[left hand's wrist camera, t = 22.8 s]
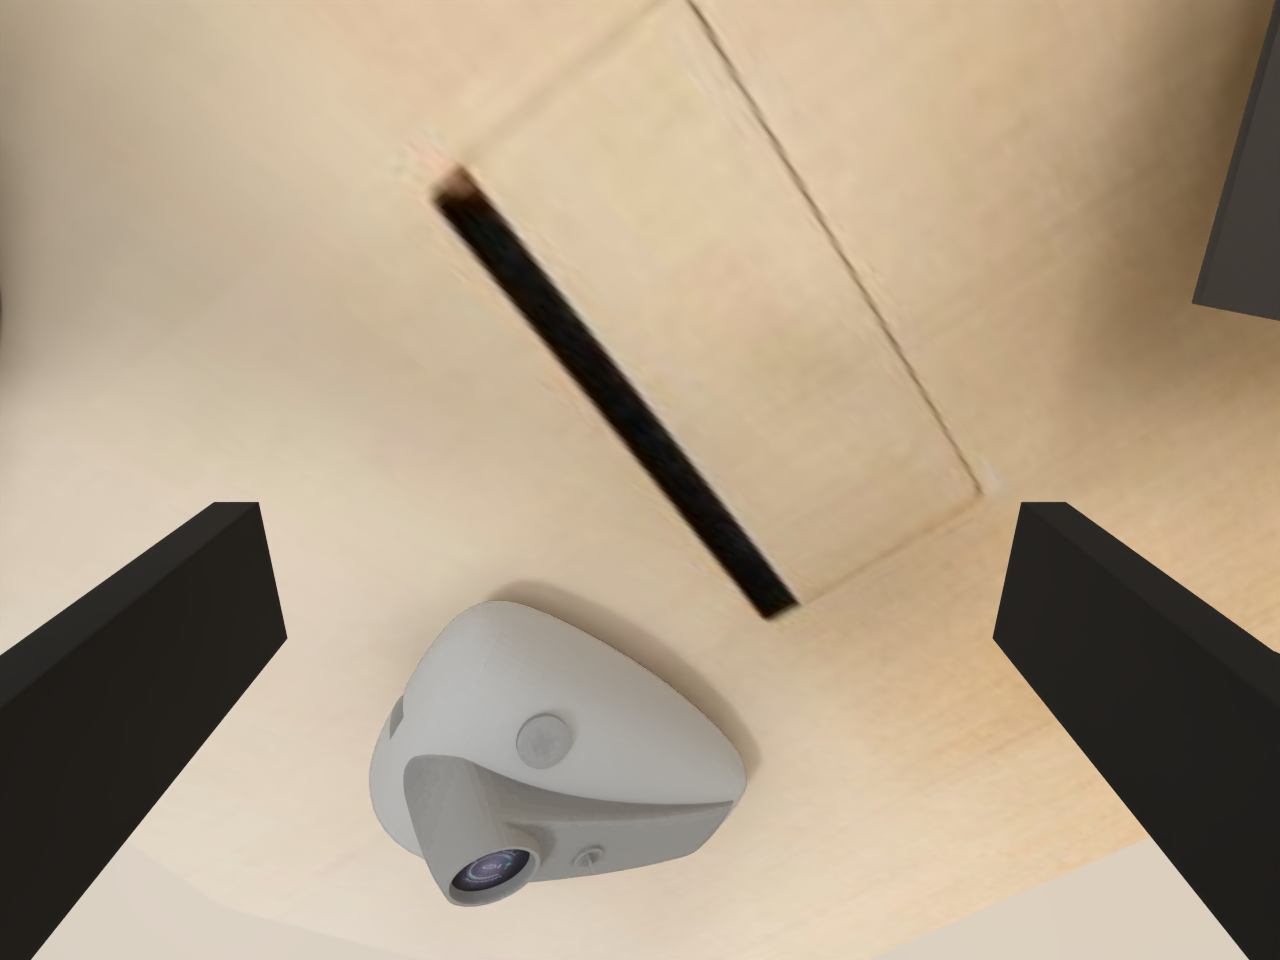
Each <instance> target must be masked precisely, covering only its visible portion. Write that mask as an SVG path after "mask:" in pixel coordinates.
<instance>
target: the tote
mask: <svg viewBox="0 0 1280 960" xmlns="http://www.w3.org/2000/svg"><path fill="white" fill-rule="evenodd" d="M1192 303H1193V304H1197V305H1202V306H1207V307H1212V308H1217V309H1222V310H1227V311H1232V312H1238V313H1243V314H1248V315H1253V316H1258V317H1263V318H1268V319H1273V320H1278V321H1280V0H1275V3H1274V7H1273V11H1272V14H1271V18H1270V22H1269V25H1268V29H1267V32H1266V36H1265V40H1264V43H1263V47H1262V50H1261V54H1260V58H1259V61H1258V65H1257V69H1256V72H1255V76H1254V79H1253V83H1252V87H1251V90H1250V94H1249V97H1248V101H1247V105H1246V108H1245V112H1244V115H1243V119H1242V123H1241V126H1240V130H1239V134H1238V137H1237V141H1236V144H1235V148H1234V152H1233V155H1232V159H1231V162H1230V166H1229V170H1228V173H1227V177H1226V180H1225V184H1224V188H1223V191H1222V195H1221V199H1220V202H1219V206H1218V209H1217V213H1216V217H1215V220H1214V224H1213V227H1212V231H1211V235H1210V238H1209V242H1208V245H1207V249H1206V253H1205V256H1204V260H1203V264H1202V267H1201V271H1200V274H1199V278H1198V282H1197V285H1196V289H1195V292H1194V296H1193V300H1192Z"/></svg>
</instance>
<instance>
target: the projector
mask: <svg viewBox="0 0 1280 960" xmlns="http://www.w3.org/2000/svg"><path fill="white" fill-rule="evenodd" d="M746 783H747V779H746V772H745V767H744V764H743V761H742V759H741V756H740V754H739V752H738V751H737V749H736V748H735V747H734V746H733V744H732V743H731V742H730V741H729V739H728V738H727V737H726V736H725V735H724V734H723V733H722V732H721V731H720V730H719V729H718V728H717V727H716V726H715V725H714V724H713V723H712V722H711V721H710V720H709V719H708V718H707V717H706V716H705V715H704V714H703V713H702V712H701V711H700V710H698V709H697V708H696V707H695V706H694V705H693V704H691V703H690V702H689V701H688V700H687V699H686V698H684V697H683V696H682V695H681V694H679V693H678V692H677V691H676V690H674V689H673V688H672V687H671V686H669V685H668V684H667V683H665V682H664V681H663V680H661V679H660V678H658V677H657V676H656V675H654V674H653V673H652V672H650V671H649V670H647V669H646V668H644V667H643V666H641V665H640V664H638V663H637V662H635V661H634V660H632V659H630V658H629V657H627V656H626V655H624V654H622V653H621V652H619V651H617V650H616V649H614V648H612V647H611V646H609V645H607V644H606V643H604V642H602V641H600V640H598V639H597V638H595V637H593V636H591V635H589V634H588V633H586V632H584V631H582V630H580V629H578V628H576V627H574V626H572V625H570V624H568V623H566V622H564V621H562V620H560V619H558V618H556V617H553V616H551V615H549V614H547V613H544V612H542V611H539V610H537V609H534V608H532V607H529V606H525V605H522V604H519V603H515V602H510V601H500V600H496V601H487V602H483V603H480V604H477V605H475V606H473V607H470V608H469V609H467V610H465V611H464V612H462V613H461V614H459V615H458V616H457V617H456V618H455V619H454V620H453V621H452V622H451V623H450V624H449V625H448V626H447V627H446V628H445V629H444V630H443V631H442V633H441V634H440V635H439V636H438V637H437V638H436V640H435V641H434V642H433V644H432V645H431V647H430V648H429V649H428V651H427V652H426V654H425V655H424V657H423V658H422V660H421V661H420V663H419V664H418V666H417V668H416V669H415V671H414V673H413V674H412V676H411V678H410V679H409V681H408V683H407V686H406V688H405V692H404V695H402V696H401V697H400V698H399V700H398V701H397V702H396V704H395V706H394V708H393V709H392V711H391V713H390V715H389V717H388V719H387V721H386V723H385V725H384V727H383V729H382V731H381V733H380V736H379V738H378V741H377V743H376V746H375V749H374V752H373V756H372V760H371V765H370V771H369V787H370V795H371V800H372V805H373V808H374V811H375V814H376V816H377V819H378V820H379V822H380V824H381V825H382V827H383V828H384V830H385V831H386V832H387V833H388V834H389V835H390V836H391V838H392V839H393V840H394V841H395V842H397V843H398V844H399V845H401V846H402V847H404V848H405V849H406V850H408V851H409V852H411V853H413V854H415V855H417V856H419V857H421V858H423V859H425V861H426V863H427V865H428V867H429V869H430V871H431V874H432V876H433V878H434V880H435V881H436V883H437V885H438V886H439V888H440V889H441V891H442V892H443V894H444V895H445V897H446V899H447V900H448V901H449V902H450V903H452V904H454V905H458V906H464V907H472V906H480V905H486V904H489V903H493V902H496V901H499V900H501V899H503V898H505V897H507V896H510V895H511V894H513V893H515V892H516V891H518V890H520V889H521V888H522V887H524V886H525V885H526V884H527V883H528V882H538V881H548V880H558V879H566V878H574V877H582V876H590V875H597V874H603V873H609V872H615V871H621V870H626V869H632V868H637V867H642V866H647V865H651V864H656V863H660V862H664V861H668V860H672V859H676V858H680V857H683V856H687V855H689V854H691V853H694V852H695V851H696V850H697V849H699V848H700V847H701V846H702V845H703V844H704V843H705V842H706V841H707V840H708V839H709V838H710V837H711V836H712V835H713V834H714V833H715V831H716V830H717V829H718V828H719V826H720V825H721V824H722V823H723V822H724V820H725V819H726V818H727V817H728V816H729V814H730V813H731V812H732V810H733V809H734V808H735V807H736V805H737V804H738V802H739V801H740V799H741V797H742V795H743V793H744V791H745V788H746Z"/></svg>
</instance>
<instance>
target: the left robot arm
mask: <svg viewBox="0 0 1280 960" xmlns="http://www.w3.org/2000/svg"><path fill="white" fill-rule="evenodd" d="M286 639H287V634H286V629H285V625H284V620H283V615H282V610H281V606H280V601H279V596H278V591H277V587H276V582H275V577H274V573H273V568H272V563H271V558H270V554H269V549H268V544H267V539H266V535H265V530H264V525H263V521H262V516H261V511H260V506H259V502H214V503H212V504H211V505H209V506H208V507H207V508H205V509H204V510H202V511H201V512H200V513H198V514H197V515H195V516H194V517H193V518H191V519H190V520H189V521H187V522H186V523H184V524H183V525H182V526H180V527H179V528H177V529H176V530H175V531H173V532H172V533H170V534H169V535H168V536H166V537H165V538H163V539H162V540H161V541H159V542H158V543H156V544H155V545H154V546H152V547H151V548H149V549H148V550H147V551H145V552H144V553H143V554H141V555H140V556H138V557H137V558H136V559H134V560H133V561H131V562H130V563H129V564H127V565H126V566H124V567H123V568H122V569H120V570H119V571H117V572H116V573H115V574H113V575H112V576H110V577H109V578H108V579H106V580H105V581H103V582H102V583H101V584H99V585H98V586H97V587H95V588H94V589H92V590H91V591H90V592H88V593H87V594H85V595H84V596H83V597H81V598H80V599H78V600H77V601H76V602H74V603H73V604H71V605H70V606H69V607H67V608H66V609H64V610H63V611H62V612H60V613H59V614H57V615H56V616H55V617H53V618H52V619H51V620H49V621H48V622H46V623H45V624H44V625H42V626H41V627H39V628H38V629H37V630H35V631H34V632H32V633H31V634H30V635H28V636H27V637H25V638H24V639H23V640H21V641H20V642H18V643H17V644H16V645H14V646H13V647H11V648H10V649H9V650H7V651H6V652H5V653H3V654H2V655H0V960H31V959H32V958H33V956H34V955H35V954H36V953H37V951H38V950H39V949H40V948H41V946H42V945H43V944H44V943H45V941H46V940H47V939H48V938H49V936H50V935H51V934H52V933H53V931H54V930H55V929H56V928H57V926H58V925H59V924H60V922H61V921H62V920H63V919H64V918H65V916H66V915H67V914H68V912H69V911H70V910H71V909H72V907H73V906H74V905H75V904H76V902H77V901H78V900H79V899H80V897H81V896H82V895H83V894H84V892H85V891H86V890H87V889H88V887H89V886H90V885H91V884H92V882H93V881H94V880H95V879H96V877H97V876H98V875H99V874H100V872H101V871H102V870H103V869H104V867H105V866H106V865H107V864H108V862H109V861H110V860H111V859H112V857H113V856H114V855H115V854H116V852H117V851H118V850H119V849H120V847H121V846H122V845H123V844H124V842H125V841H126V840H127V839H128V837H129V836H130V835H131V834H132V832H133V831H134V830H135V829H136V827H137V826H138V825H139V824H140V822H141V821H142V820H143V819H144V817H145V816H146V815H147V814H148V812H149V811H150V810H151V809H152V807H153V806H154V805H155V804H156V802H157V801H158V800H159V799H160V797H161V796H162V795H163V794H164V792H165V791H166V790H167V789H168V787H169V786H170V785H171V783H172V782H173V781H174V780H175V778H176V777H177V776H178V775H179V773H180V772H181V771H182V770H183V768H184V767H185V766H186V765H187V763H188V762H189V761H190V760H191V758H192V757H193V756H194V755H195V753H196V752H197V751H198V750H199V748H200V747H201V746H202V745H203V743H204V742H205V741H206V740H207V738H208V737H209V736H210V735H211V733H212V732H213V731H214V730H215V728H216V727H217V726H218V725H219V723H220V722H221V721H222V720H223V718H224V717H225V716H226V715H227V713H228V712H229V711H230V710H231V708H232V707H233V706H234V705H235V703H236V702H237V701H238V700H239V698H240V697H241V696H242V695H243V693H244V692H245V691H246V690H247V688H248V687H249V686H250V685H251V683H252V682H253V681H254V680H255V678H256V677H257V676H258V675H259V673H260V672H261V671H262V670H263V668H264V667H265V666H266V664H267V663H268V662H269V661H270V659H271V658H272V657H273V656H274V654H275V653H276V652H277V651H278V649H279V648H280V647H281V646H282V644H283V643H284V642H285V641H286ZM993 639H994V641H995V642H996V643H997V644H998V646H999V647H1000V648H1001V649H1002V651H1003V652H1004V653H1005V654H1006V656H1007V657H1008V658H1009V659H1010V661H1011V662H1012V663H1013V664H1014V666H1015V667H1016V668H1017V670H1018V671H1019V672H1020V673H1021V675H1022V676H1023V677H1024V678H1025V680H1026V681H1027V682H1028V683H1029V685H1030V686H1031V687H1032V688H1033V690H1034V691H1035V692H1036V693H1037V695H1038V696H1039V697H1040V698H1041V700H1042V701H1043V702H1044V703H1045V705H1046V706H1047V707H1048V708H1049V710H1050V711H1051V712H1052V713H1053V715H1054V716H1055V717H1056V718H1057V720H1058V721H1059V722H1060V723H1061V725H1062V726H1063V727H1064V728H1065V730H1066V731H1067V732H1068V733H1069V735H1070V736H1071V737H1072V738H1073V740H1074V741H1075V742H1076V743H1077V745H1078V746H1079V747H1080V748H1081V750H1082V751H1083V752H1084V753H1085V755H1086V756H1087V757H1088V758H1089V760H1090V761H1091V762H1092V763H1093V765H1094V766H1095V767H1096V768H1097V770H1098V771H1099V772H1100V773H1101V775H1102V776H1103V777H1104V778H1105V780H1106V781H1107V782H1108V783H1109V785H1110V786H1111V787H1112V789H1113V790H1114V791H1115V792H1116V794H1117V795H1118V796H1119V797H1120V799H1121V800H1122V801H1123V802H1124V804H1125V805H1126V806H1127V807H1128V809H1129V810H1130V811H1131V812H1132V814H1133V815H1134V816H1135V817H1136V819H1137V820H1138V821H1139V822H1140V824H1141V825H1142V826H1143V827H1144V829H1145V830H1146V831H1147V832H1148V834H1149V835H1150V836H1151V837H1152V839H1153V840H1154V841H1155V842H1156V844H1157V845H1158V846H1159V847H1160V849H1161V850H1162V851H1163V852H1164V854H1165V855H1166V856H1167V857H1168V859H1169V860H1170V861H1171V862H1172V864H1173V865H1174V866H1175V867H1176V869H1177V870H1178V871H1179V872H1180V874H1181V875H1182V876H1183V877H1184V879H1185V880H1186V881H1187V882H1188V884H1189V885H1190V886H1191V887H1192V889H1193V890H1194V891H1195V892H1196V894H1197V895H1198V896H1199V897H1200V899H1201V900H1202V901H1203V903H1204V904H1205V905H1206V906H1207V908H1208V909H1209V910H1210V911H1211V913H1212V914H1213V915H1214V916H1215V918H1216V919H1217V920H1218V921H1219V923H1220V924H1221V925H1222V926H1223V928H1224V929H1225V930H1226V931H1227V932H1228V934H1229V935H1230V936H1231V938H1232V939H1233V940H1234V941H1235V942H1236V944H1237V945H1238V946H1239V948H1240V949H1241V950H1242V951H1243V953H1244V954H1245V955H1246V956H1247V958H1248V959H1249V960H1280V654H1279V653H1277V652H1274V651H1273V650H1271V649H1270V648H1269V647H1267V646H1266V645H1264V644H1263V643H1262V642H1260V641H1259V640H1257V639H1256V638H1255V637H1253V636H1252V635H1250V634H1249V633H1248V632H1246V631H1245V630H1243V629H1242V628H1241V627H1239V626H1238V625H1236V624H1235V623H1234V622H1232V621H1231V620H1229V619H1228V618H1227V617H1225V616H1224V615H1223V614H1221V613H1220V612H1218V611H1217V610H1216V609H1214V608H1213V607H1211V606H1210V605H1209V604H1207V603H1206V602H1204V601H1203V600H1202V599H1200V598H1199V597H1197V596H1196V595H1195V594H1193V593H1192V592H1190V591H1189V590H1188V589H1186V588H1185V587H1183V586H1182V585H1181V584H1179V583H1178V582H1177V581H1175V580H1174V579H1172V578H1171V577H1170V576H1168V575H1167V574H1165V573H1164V572H1163V571H1161V570H1160V569H1158V568H1157V567H1156V566H1154V565H1153V564H1151V563H1150V562H1149V561H1147V560H1146V559H1144V558H1143V557H1142V556H1140V555H1139V554H1137V553H1136V552H1135V551H1133V550H1132V549H1131V548H1129V547H1128V546H1126V545H1125V544H1124V543H1122V542H1121V541H1119V540H1118V539H1117V538H1115V537H1114V536H1112V535H1111V534H1110V533H1108V532H1107V531H1105V530H1104V529H1103V528H1101V527H1100V526H1098V525H1097V524H1096V523H1094V522H1093V521H1091V520H1090V519H1089V518H1087V517H1086V516H1085V515H1083V514H1082V513H1080V512H1079V511H1078V510H1076V509H1075V508H1073V507H1072V506H1071V505H1069V504H1068V503H1066V502H1021V506H1020V511H1019V516H1018V521H1017V525H1016V530H1015V535H1014V539H1013V544H1012V549H1011V554H1010V558H1009V563H1008V568H1007V573H1006V577H1005V582H1004V587H1003V591H1002V596H1001V601H1000V606H999V610H998V615H997V620H996V625H995V629H994V634H993Z"/></svg>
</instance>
